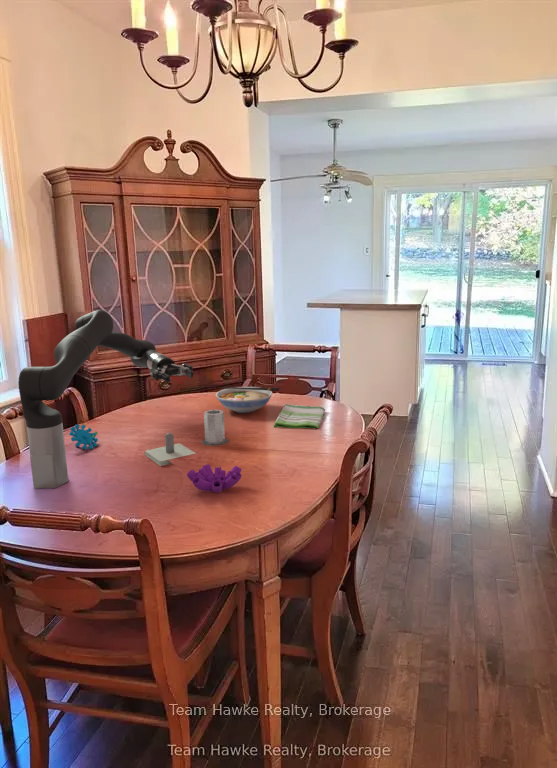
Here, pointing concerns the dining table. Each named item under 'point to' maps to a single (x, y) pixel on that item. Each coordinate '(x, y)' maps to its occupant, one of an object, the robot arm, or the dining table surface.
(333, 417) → the dining table surface
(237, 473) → the pipe connector assembly
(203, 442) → the stand
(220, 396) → the ramen bowl
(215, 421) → the sleeve
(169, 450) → the plate with upright peg
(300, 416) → the dish towel
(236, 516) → the dining table surface
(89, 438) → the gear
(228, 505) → the dining table surface
